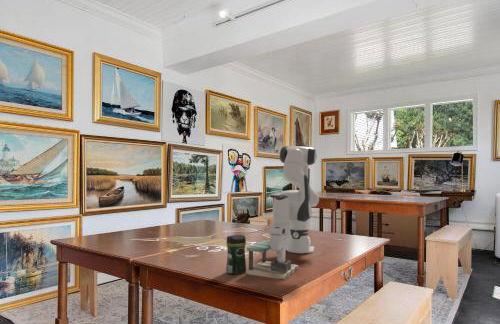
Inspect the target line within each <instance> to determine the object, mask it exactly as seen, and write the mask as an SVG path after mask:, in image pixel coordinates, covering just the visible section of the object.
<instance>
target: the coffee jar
mask: <svg viewBox="0 0 500 324" xmlns="http://www.w3.org/2000/svg"><path fill="white" fill-rule="evenodd" d="M246 244H247V240H246V236H245V235H243V234H235V235H233V234H232V235H228V236H226V247H227V258H226V269H225V270H226V273H227V274H230V275H239V274H240V275H241V274H244V273H247V265H246V264H247V262H246V252H245V251H246Z"/></svg>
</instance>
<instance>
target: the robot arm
mask: <svg viewBox="0 0 500 324" xmlns="http://www.w3.org/2000/svg"><path fill="white" fill-rule="evenodd" d="M278 156H279V161H280V162H281V163H283V168H282V174H283V176H284V178H285V180H287V181H288V182H289V183H291V184H292V185H293V186H294V187H296V188H298V189H299V190H298V189H297V190H295V189H293V190H292V189H290V190H282V191H281V192H280V193H279V195H275V196H274V198H273V203H272V217H273V218H272V224H271V226H270V228H269V231H268V232H269V234H270V235H269V241H270V248H271V249H270V250H271V251H275V253H276V259H277V258H281V249H282V248H283V247H284V246H285V252H286V251H287V252H288V253H292V254H293V253H294V254H312V253H314V250H315V246H313V245H312V239H311V238H310V236H309V228H308V220H310V218H312V207H317V205H318V204H319V202H320V197H319V194H318V193H317V191H315V190H314V189H313V188H312V187H311V185H310V180H309V166H310V165H314V164H315V163H316V161H317V158H318V154H317V151H316V149H315V148H314V147H310V146H309V147H308V146H300V145H299V146H294V145H293V146H289V145H288V146H287V145H286V146H282V147H281V148H280V151H279V155H278Z"/></svg>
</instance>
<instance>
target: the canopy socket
mask: <svg viewBox="0 0 500 324" xmlns="http://www.w3.org/2000/svg"><path fill="white" fill-rule="evenodd" d="M270 250H271V248H270V240H261V241H259V242H256V243H254V244H252V245H251V244H250V245H249V246H247V247H246V251H247V252H248V269H247V268H246V274H247V275H251V276H259V277H265V278H271V279H272V278H273V279H279V280H284V281H285V280H287V279H288V278H289V277H290V276H291V275H293V274H294V273H295V272H296V271H297V270H299V264H292V260H291V259H290V260H288V259H285V263H277V258H276V259H274V260H272V261H267V251H270ZM254 252H256V253H261V257H262V258H261V261H259V262H258V263H257V264H254Z"/></svg>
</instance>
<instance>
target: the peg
mask: <svg viewBox="0 0 500 324" xmlns="http://www.w3.org/2000/svg"><path fill="white" fill-rule="evenodd" d="M276 259H277V263H285V260H286V251H285V246H284V247H283V248H282V249H281V258H277V257H276Z"/></svg>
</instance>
